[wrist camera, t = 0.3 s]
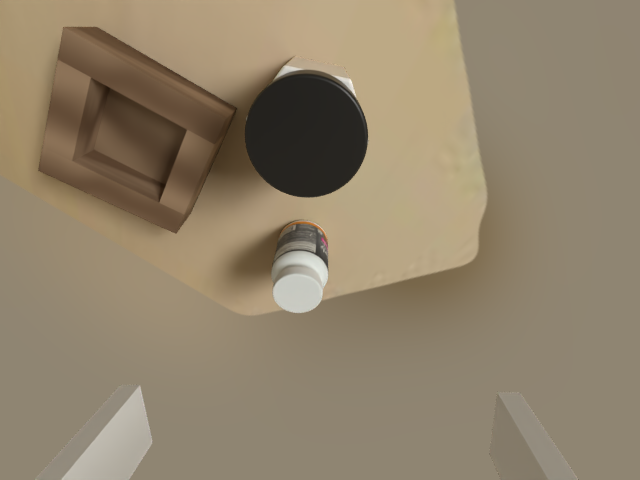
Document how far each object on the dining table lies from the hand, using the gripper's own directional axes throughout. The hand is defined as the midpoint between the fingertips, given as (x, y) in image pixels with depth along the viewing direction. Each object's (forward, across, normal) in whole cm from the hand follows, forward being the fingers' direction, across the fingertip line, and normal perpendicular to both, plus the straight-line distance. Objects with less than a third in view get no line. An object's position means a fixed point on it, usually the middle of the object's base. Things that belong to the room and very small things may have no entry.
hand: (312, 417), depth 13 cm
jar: (+25, -2, +13) cm, 28 cm away
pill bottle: (+28, -4, -1) cm, 29 cm away
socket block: (+24, -18, +11) cm, 32 cm away
